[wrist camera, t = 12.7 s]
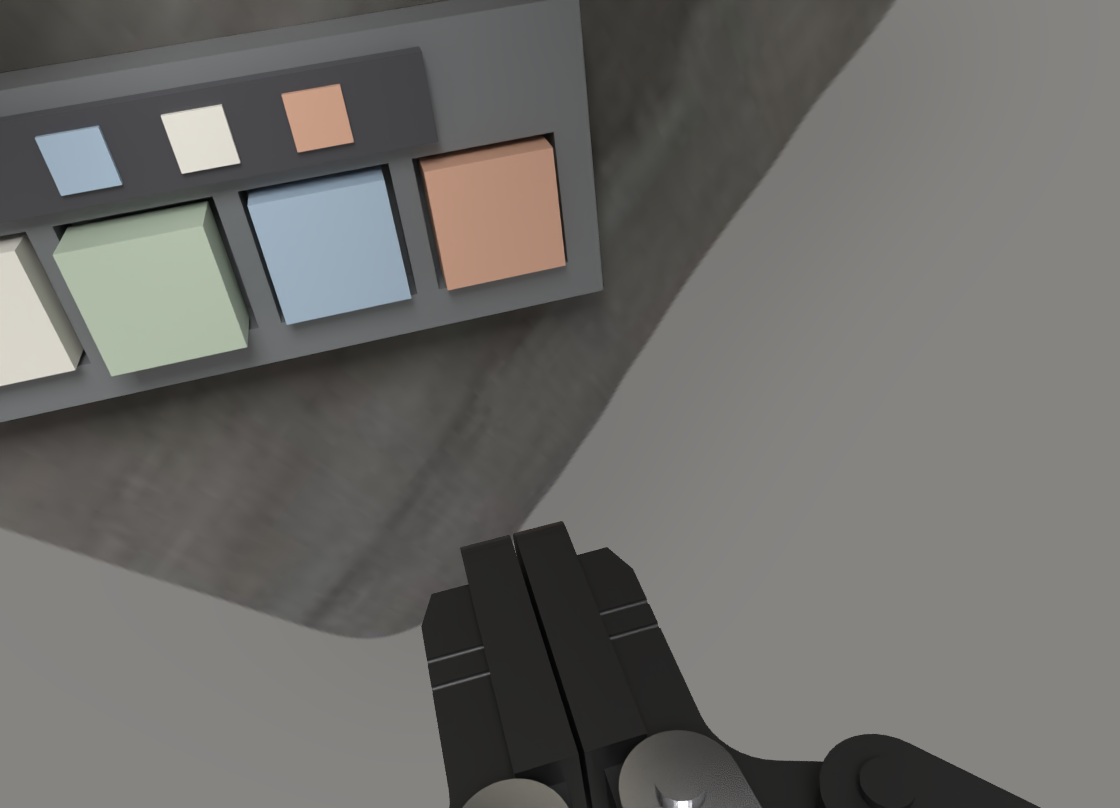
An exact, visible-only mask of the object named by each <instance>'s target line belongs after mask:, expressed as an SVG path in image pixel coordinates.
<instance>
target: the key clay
mask: <svg viewBox="0 0 1120 808" xmlns="http://www.w3.org/2000/svg"><path fill="white" fill-rule="evenodd" d="M417 159H418V164H419V169H420V174H421V179H422V184H423V189H424V194H425V198H426V203H427V208H428V213H429V218H430V223H431V228H432V233H433V238H434V243H435V248H436V253H437V258H438V262H439V267H440V269H441V272H442V275H443V278H444V281H445V284H446V287H447V290H453V289H457V288H462V287H467V286H471V285H476V284H481V283H486V282H490V281H495V280H500V279H504V278H509V277H514V276H518V275H523V274H528V273H532V272H537V271H542V270H547V269H551V268H556V267H561V266H565V265H566V264H565V255H564V246H563V237H562V227H561V218H560V209H559V200H558V191H557V182H556V173H555V164H554V155H553V147H552V146H551V145H550V144H549V142H548V141H547V140H546V139H545V137H544V136H543V135H542V134H540V135H535V136H529V137H524V138H519V139H514V140H508V141H503V142H498V143H492V144H487V145H482V146H476V147H471V148H466V149H461V150H455V151H450V152H445V153H439V154H434V155H429V156H423V157H418V158H417Z"/></svg>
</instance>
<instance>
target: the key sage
mask: <svg viewBox="0 0 1120 808" xmlns="http://www.w3.org/2000/svg"><path fill="white" fill-rule="evenodd" d="M53 257H54V259H55V261H56V263H57V265H58V267H59V269H60V271H61V273H62V275H63V278H64V280H65V282H66V284H67V286H68V288H69V290H70V292H71V294H72V296H73V298H74V300H75V302H76V304H77V306H78V308H79V310H80V313H81V315H82V317H83V319H84V321H85V323H86V325H87V327H88V329H89V331H90V333H91V335H92V337H93V339H94V341H95V343H96V346H97V348H98V350H99V352H100V354H101V356H102V358H103V360H104V362H105V364H106V366H107V368H108V370H109V372H110V374H111V376H116V375H121V374H125V373H130V372H135V371H139V370H144V369H149V368H153V367H158V366H162V365H167V364H172V363H176V362H181V361H186V360H190V359H195V358H200V357H204V356H209V355H213V354H218V353H223V352H227V351H232V350H237V349H241V348H246V347H247V344H248V331H249V314H248V312H247V309H246V306H245V303H244V300H243V298H242V295H241V292H240V289H239V286H238V284H237V281H236V278H235V275H234V272H233V270H232V267H231V264H230V261H229V258H228V256H227V253H226V250H225V247H224V244H223V242H222V239H221V236H220V233H219V230H218V228H217V225H216V222H215V219H214V216H213V214H212V211H211V208H210V205H209V202H208V201H204V202H199V203H194V204H189V205H183V206H178V207H173V208H167V209H162V210H157V211H152V212H146V213H141V214H136V215H130V216H125V217H120V218H115V219H109V220H104V221H99V222H94V223H88V224H83V225H78V226H72V227H67V229H66V231H65V233H64V235H63V237H62V238H61V240H60V242H59V244H58V246H57V248H56V250H55V251H54V253H53Z"/></svg>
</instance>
